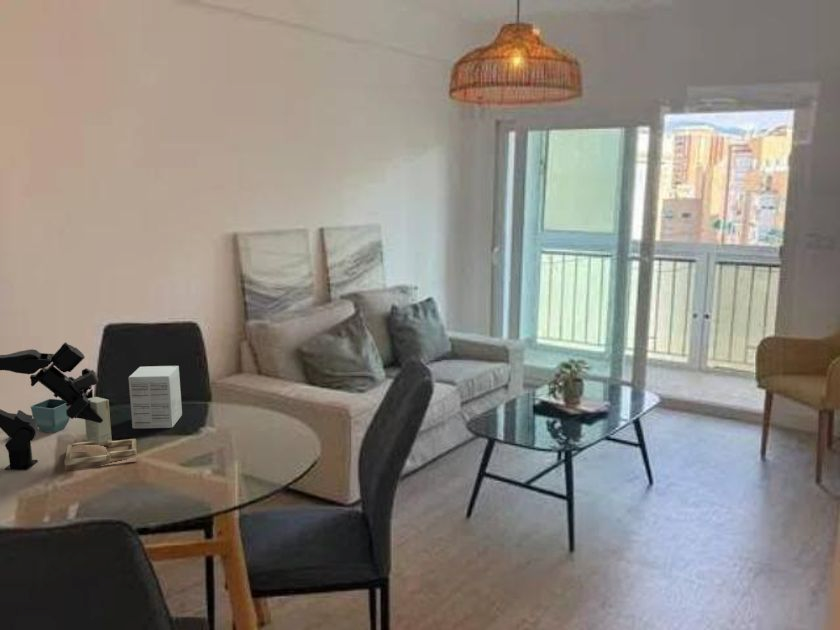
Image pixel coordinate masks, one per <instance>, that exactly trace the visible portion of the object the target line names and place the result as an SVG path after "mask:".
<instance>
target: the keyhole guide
mask: <svg viewBox="0 0 840 630" xmlns="http://www.w3.org/2000/svg"><path fill="white" fill-rule="evenodd" d="M77 445H100V446H104V447H106V449H107V451H108V452H107V453H106V454H105V455H97V454H96V455H95V454H92V453H87V452H72V447H74V446H77ZM66 449H67V450H66V453H65V457H64V462H63V463H64V471H65V472H67V471H74V470H75V471H76V470H84V469H92V468H98V467H97V466H101V465H105V464H108V463H112V462H117V461H122V460H127V459H129V458H135V457H136V456H137V457H138V439H136V438H129V439H120V440H113V439H111V440H108V441H104V442H101V443H97V442H93V441H90V440H89V441H84V442H83V441H81V442H73V443H68V446H67V448H66ZM101 467H102V466H101Z"/></svg>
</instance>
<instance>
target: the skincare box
mask: <svg viewBox="0 0 840 630" xmlns="http://www.w3.org/2000/svg"><path fill="white" fill-rule="evenodd" d="M88 400H91V407H92V408H93V409H94V411H95V412H96V413H97V414H98V415H99V416H100V417H101V418H102V419H103V421H102V422H101V423H98V422H94V421H90V420H85V419H84V422H85V424H84V425H85V434H86V435H85V437H86V440H87V441H89V442H90V441H93V442H97V443H101V442H104V441H108V440H111V439H112V428H111V427H112V426H111V417H110V416H111V414H110V403H109V402H110V400H109V399H107V398H103V397H100V396H99V397H98V396H93V398H89V399H88ZM112 440H113V439H112Z"/></svg>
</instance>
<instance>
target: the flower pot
mask: <svg viewBox="0 0 840 630" xmlns="http://www.w3.org/2000/svg"><path fill="white" fill-rule="evenodd" d="M65 404H66V402H65V401H63V400H62V399H60V398H59V399H57V398H47V399H45V400H43V401H40V402H38V403H35V404H33V405H31V406H30V411H31V415H32V416H33V417H32V418H33V419H35V420H36V421H37V424H38V429H39V430H40V431H41V432H44V433H45V432H47V433H52V434H53V433H54V432H55V433H56V432H59V431H61V430H63V429H65V428H66V427H67V425H68V423H69V421H70V420H71V418H70V417H68V416H67V413H66V410H67V407H68V406H66V405H65Z"/></svg>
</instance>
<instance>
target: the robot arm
mask: <svg viewBox="0 0 840 630" xmlns="http://www.w3.org/2000/svg"><path fill="white" fill-rule="evenodd" d="M84 359H85V355H84V353H83V352H82V351H81V350H79V349H78V348H77V347H75V346H73V345H71V344H68V343H67V342H63V343H62V344H61V346H60V347H59V348H58V349H57V351H55V353H45V352H40V351H38V350H37V349H33V348H32V349H26V350H20V351H15V352H13V353H8V354H0V371H7V372H8V371H9V372H12V373H15V374H23V375H30V376H29V379H30V385H31V387H35V385H36V384H37V383H38V382H39V384H41V385H43V387H44V388H46V389H48V390H49V391H50V392H51V393H53V396H54V397H55V399H57V397H58V398H59V399H60V400H63V401H65V402H66V404H65V405H66V406H68V407H67V410H66V413H67V416H68V417H70V420H73V419H80V420H84V421H85V420H90V421H94V422H98V423H101V422H102V421H103V419H102V418H101V417H100V416H99V415H98V414H97V413H96V412H95V411H94V409H93V408H92V407H91V400H88V399H89V398H93V397H94V392H93V391H94V390H93V388H92V386H95V385H97V384H99V380H100V379H99V378H98V376H97V374H96V372H95V370H94V369H89V368H88V367H87V368H83V369H82V370H81V375H79V376H78V377H76V378H74V377H73V376H69V377H68V376H67V375H66V374H65V373H67V372H68V373H72V371H73V370H74V369H75V368H76V367H77V366H78V365H79V364H80V363H81V362H82V361H83V360H84ZM35 373H36V374H35ZM88 390H89V391H88ZM38 429H39V428H38V424H37V421H36V420H35V419H33V415H32V414H28V413H25V412H24V411H23V410H21V409H19V410H17V413H11V412H7V411H5V410H3V409H1V408H0V430H2V431H3V432H4V433H5V434H6V435H7V440H6V442H5V445H4V447H5V448H6V449H5V450H7V453H8V462H9V464H8V465H7V466H5V468H4V470H5V471H28V470H29V469H31V467H33V466H34V465H36V464H37V463H39V460H38V459H33V452H32V451H33V450H32V443H31V442H32V441H33V439H34V438H35V436H36V435H37V431H38Z"/></svg>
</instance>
